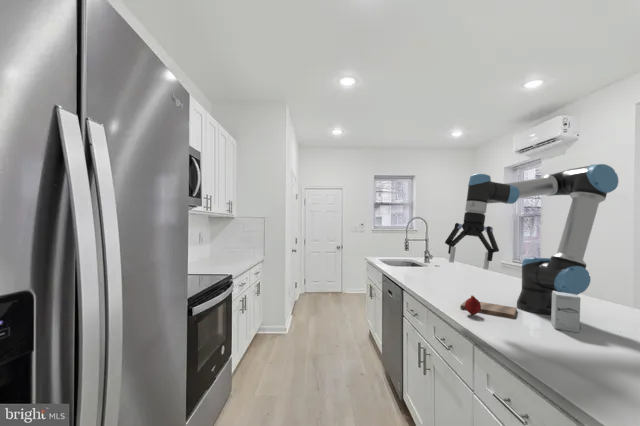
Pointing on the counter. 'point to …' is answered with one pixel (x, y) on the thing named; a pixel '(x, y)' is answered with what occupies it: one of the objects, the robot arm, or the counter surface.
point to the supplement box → (565, 311)
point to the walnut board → (495, 309)
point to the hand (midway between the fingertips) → (467, 265)
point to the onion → (472, 305)
